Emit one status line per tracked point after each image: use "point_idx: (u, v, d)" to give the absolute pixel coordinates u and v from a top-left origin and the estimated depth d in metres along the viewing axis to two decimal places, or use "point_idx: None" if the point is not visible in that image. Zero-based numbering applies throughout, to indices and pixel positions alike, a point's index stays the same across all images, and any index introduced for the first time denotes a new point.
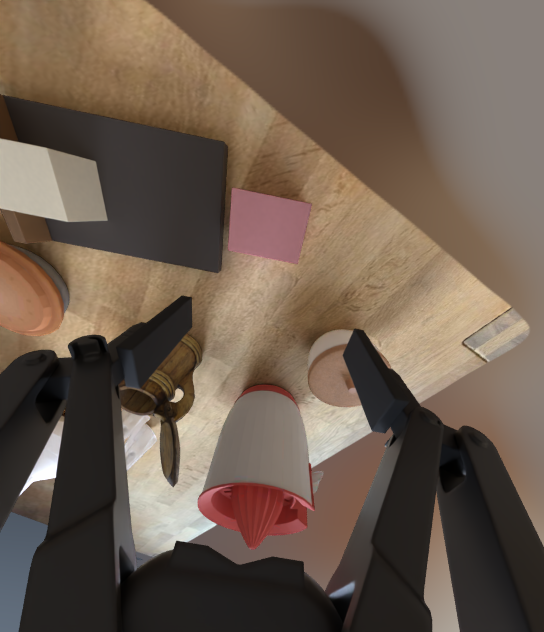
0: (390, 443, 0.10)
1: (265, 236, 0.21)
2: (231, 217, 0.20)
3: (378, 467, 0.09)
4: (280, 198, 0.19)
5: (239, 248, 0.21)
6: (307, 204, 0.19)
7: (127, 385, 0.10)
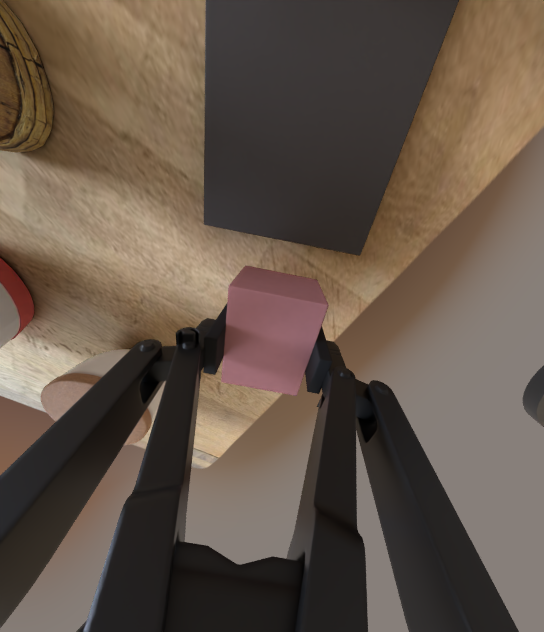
0: (320, 404, 0.11)
1: (256, 345, 0.13)
2: (284, 299, 0.11)
3: (314, 429, 0.10)
4: (305, 366, 0.14)
5: (234, 307, 0.12)
6: (296, 392, 0.15)
7: (204, 371, 0.12)
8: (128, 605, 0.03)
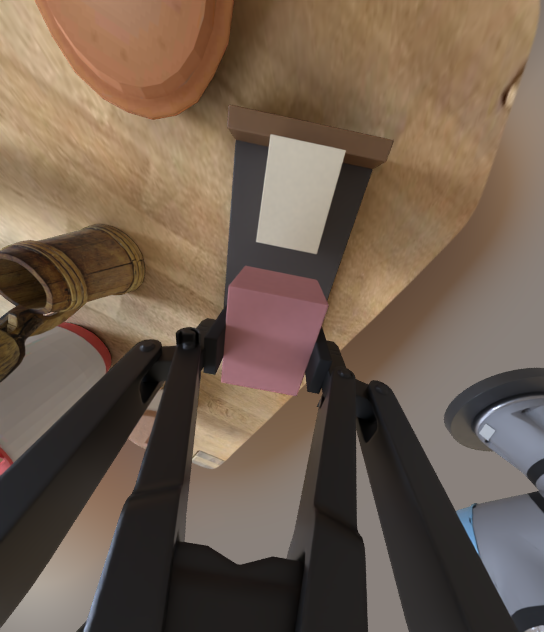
0: (320, 404, 0.11)
1: (256, 346, 0.13)
2: (284, 299, 0.11)
3: (314, 429, 0.10)
4: (305, 366, 0.14)
5: (234, 307, 0.12)
6: (296, 392, 0.15)
7: (204, 371, 0.12)
8: (128, 605, 0.03)
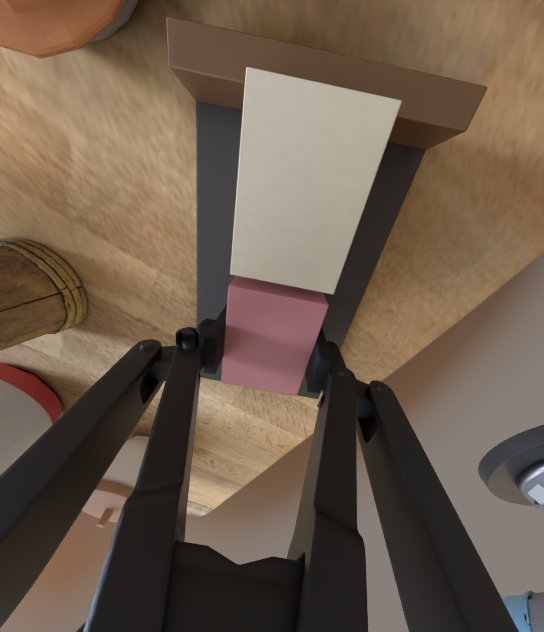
0: (321, 404, 0.11)
1: (256, 346, 0.13)
2: (284, 299, 0.11)
3: None
4: (305, 366, 0.14)
5: (234, 307, 0.12)
6: (296, 392, 0.15)
7: (204, 371, 0.12)
8: (128, 605, 0.03)
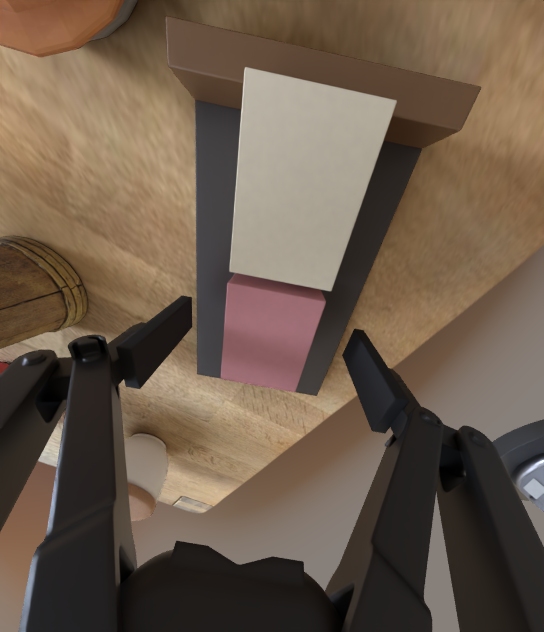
0: (390, 443, 0.10)
1: (255, 342, 0.13)
2: (282, 296, 0.12)
3: (378, 467, 0.09)
4: (304, 362, 0.14)
5: (233, 304, 0.12)
6: (294, 388, 0.15)
7: (127, 385, 0.10)
8: None
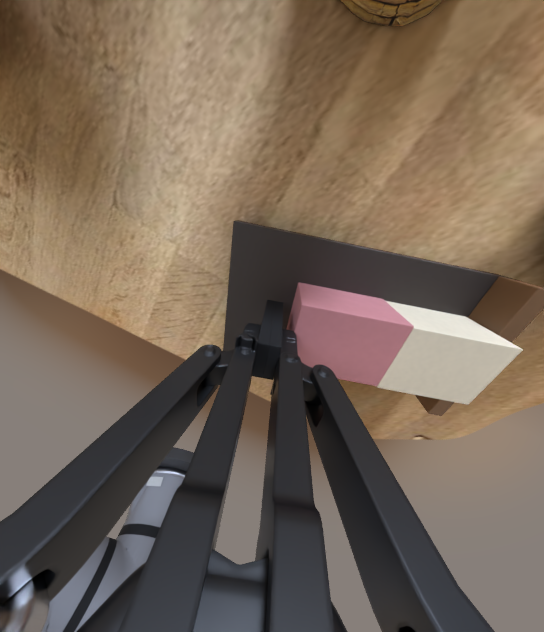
0: (273, 392, 0.11)
1: (348, 341, 0.14)
2: (389, 362, 0.15)
3: None
4: None
5: (393, 328, 0.14)
6: None
7: (251, 374, 0.13)
8: (164, 601, 0.04)
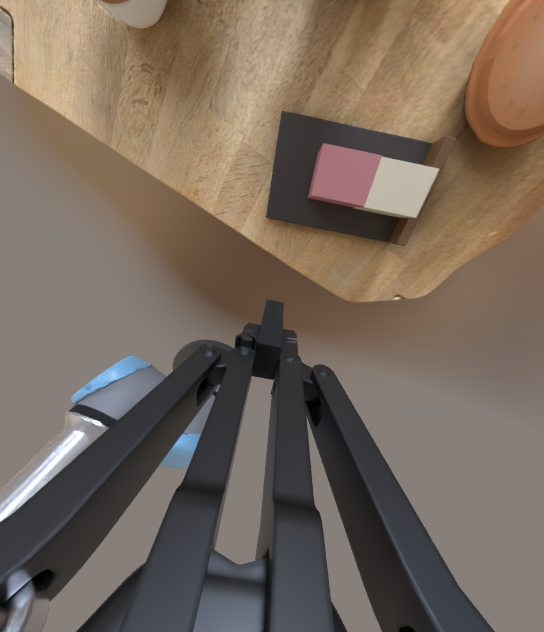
0: (273, 392, 0.11)
1: (347, 169, 0.27)
2: (370, 184, 0.27)
3: None
4: (332, 199, 0.28)
5: (371, 157, 0.26)
6: (314, 195, 0.28)
7: (251, 374, 0.13)
8: (164, 601, 0.04)
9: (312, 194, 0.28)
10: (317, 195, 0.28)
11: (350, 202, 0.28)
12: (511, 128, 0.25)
